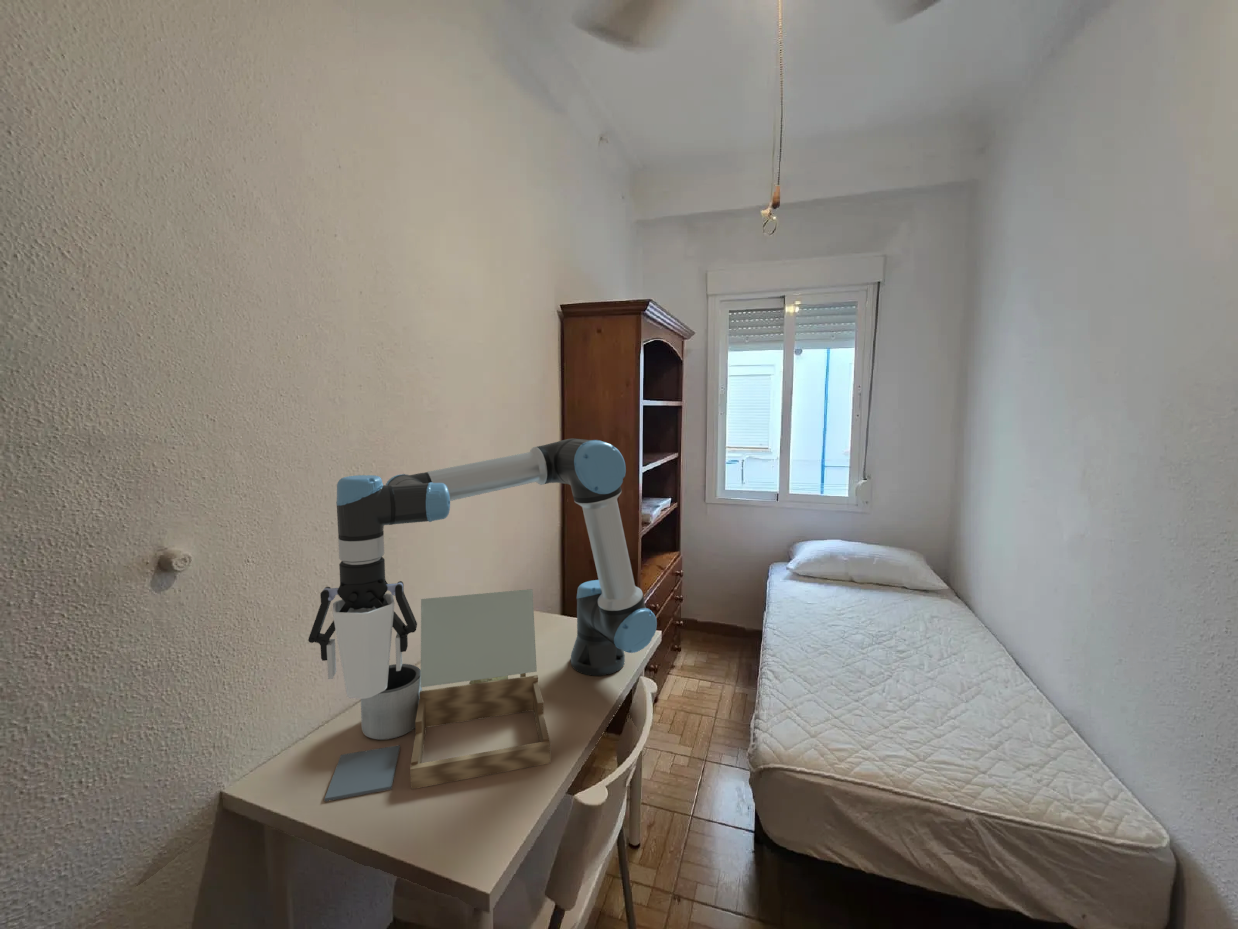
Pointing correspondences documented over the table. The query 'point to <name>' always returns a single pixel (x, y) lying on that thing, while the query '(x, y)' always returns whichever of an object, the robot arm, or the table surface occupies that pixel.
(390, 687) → the planter
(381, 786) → the mat
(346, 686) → the cup
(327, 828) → the table surface
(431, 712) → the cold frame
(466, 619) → the lid
